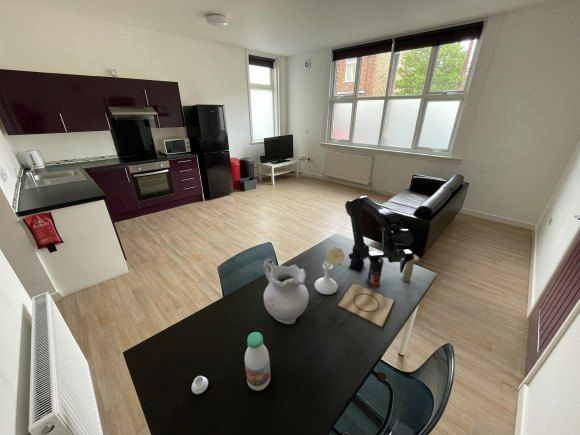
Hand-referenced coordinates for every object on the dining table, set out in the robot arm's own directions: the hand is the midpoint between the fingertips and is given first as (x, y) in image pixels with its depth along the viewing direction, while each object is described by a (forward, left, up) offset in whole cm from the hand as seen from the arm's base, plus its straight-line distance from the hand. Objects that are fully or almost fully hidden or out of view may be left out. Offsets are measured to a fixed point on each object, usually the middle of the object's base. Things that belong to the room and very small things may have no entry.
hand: (390, 273), depth 109 cm
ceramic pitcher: (-34, -37, -13) cm, 52 cm away
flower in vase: (-25, -13, -13) cm, 31 cm away
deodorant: (-8, +4, -13) cm, 16 cm away
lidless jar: (-37, -78, -13) cm, 87 cm away
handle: (+5, +17, -13) cm, 22 cm away
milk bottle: (-23, -65, -13) cm, 70 cm away
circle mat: (-6, -11, -13) cm, 18 cm away
